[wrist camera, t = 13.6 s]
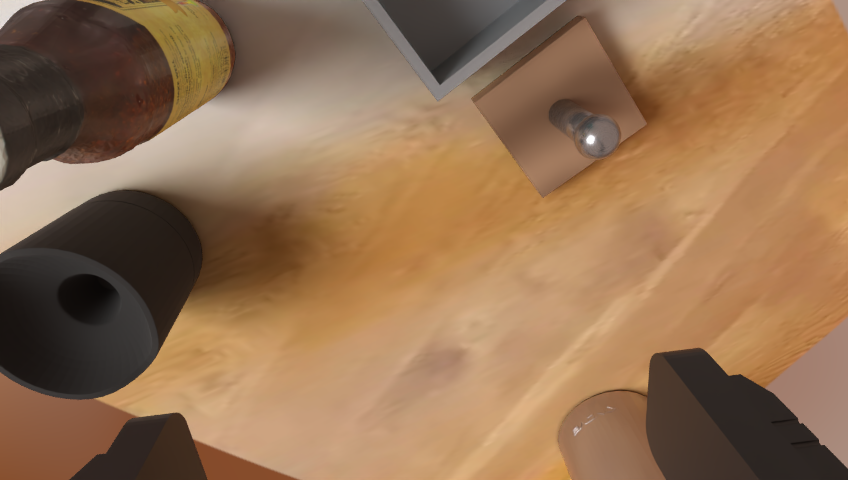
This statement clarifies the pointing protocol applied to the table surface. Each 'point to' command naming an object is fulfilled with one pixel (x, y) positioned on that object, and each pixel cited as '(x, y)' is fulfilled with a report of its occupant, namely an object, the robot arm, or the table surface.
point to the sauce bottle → (103, 76)
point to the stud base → (543, 86)
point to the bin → (455, 33)
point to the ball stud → (586, 129)
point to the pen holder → (95, 294)
